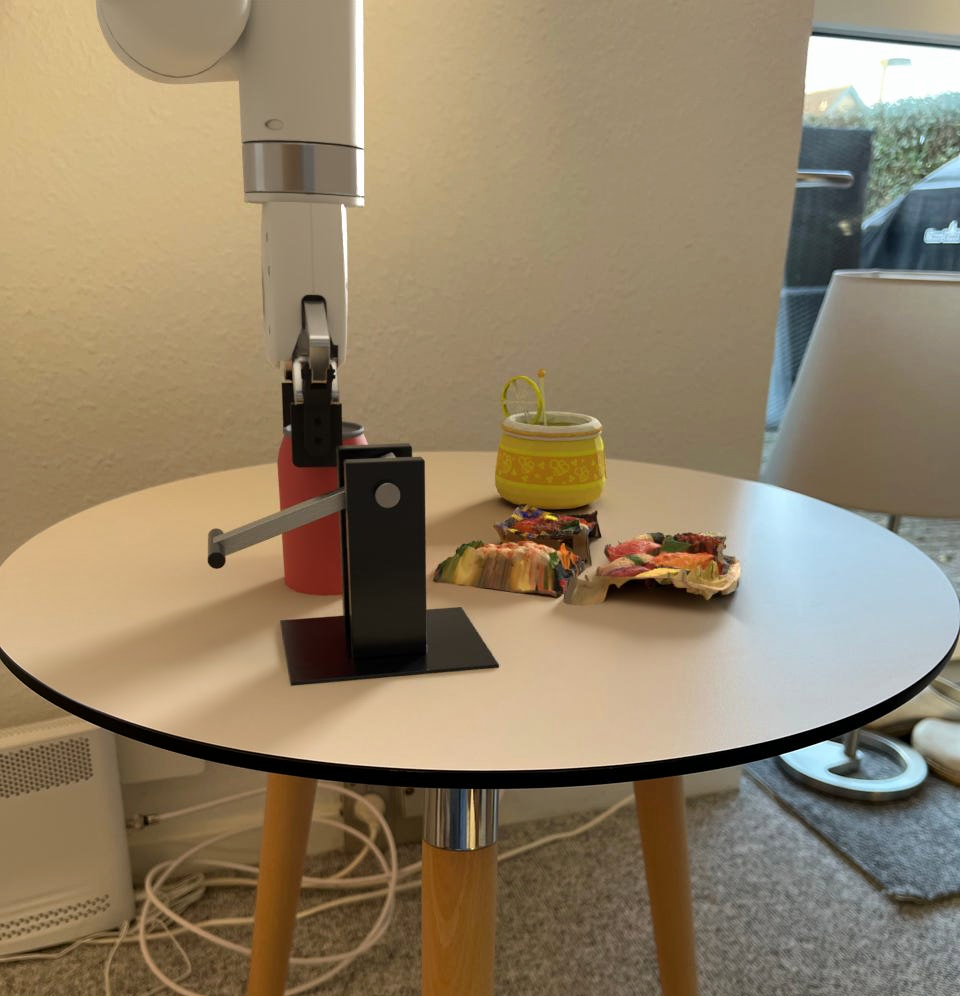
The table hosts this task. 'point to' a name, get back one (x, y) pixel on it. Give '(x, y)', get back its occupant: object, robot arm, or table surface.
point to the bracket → (382, 584)
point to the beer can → (316, 543)
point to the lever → (274, 524)
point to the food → (587, 559)
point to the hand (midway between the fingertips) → (311, 451)
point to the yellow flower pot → (548, 454)
